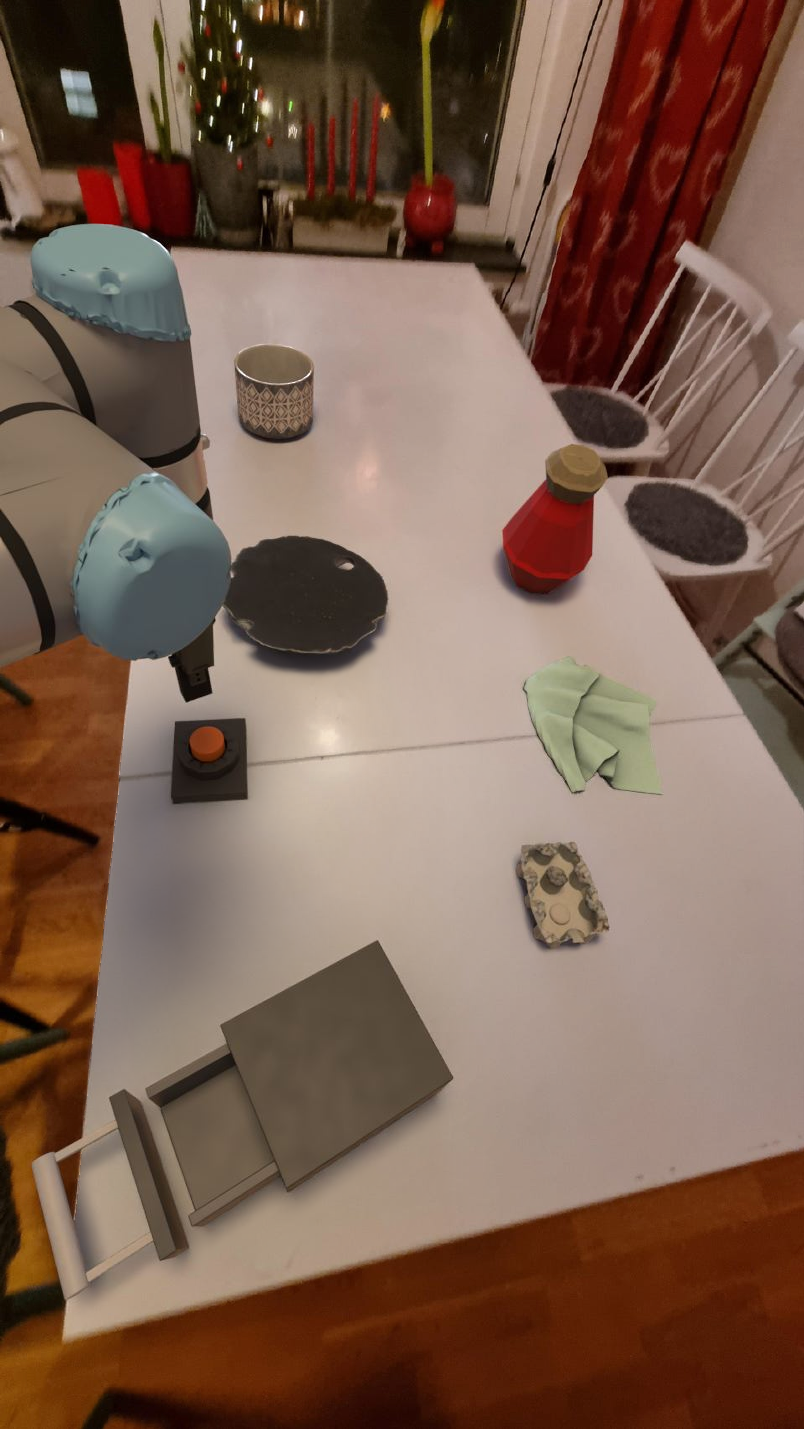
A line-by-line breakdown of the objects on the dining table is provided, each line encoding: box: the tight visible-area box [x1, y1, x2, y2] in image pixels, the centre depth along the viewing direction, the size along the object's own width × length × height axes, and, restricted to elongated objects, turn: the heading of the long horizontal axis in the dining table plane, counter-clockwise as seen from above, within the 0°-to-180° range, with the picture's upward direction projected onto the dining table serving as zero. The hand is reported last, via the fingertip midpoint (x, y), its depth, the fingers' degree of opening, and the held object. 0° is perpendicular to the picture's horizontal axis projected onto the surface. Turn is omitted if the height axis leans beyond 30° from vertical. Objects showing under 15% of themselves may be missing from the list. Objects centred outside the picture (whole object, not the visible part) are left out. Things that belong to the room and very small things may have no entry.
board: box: [222, 535, 389, 654], centre depth 93 cm, size 22×22×5 cm
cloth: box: [522, 655, 663, 796], centre depth 88 cm, size 20×22×2 cm
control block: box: [170, 717, 249, 805], centre depth 78 cm, size 10×8×4 cm
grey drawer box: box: [220, 939, 454, 1193], centre depth 59 cm, size 15×13×9 cm
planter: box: [233, 343, 315, 440], centre depth 117 cm, size 13×13×10 cm
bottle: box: [501, 443, 609, 596], centre depth 98 cm, size 16×14×20 cm
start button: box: [190, 727, 225, 762], centre depth 76 cm, size 4×4×2 cm
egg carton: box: [515, 841, 610, 949], centre depth 73 cm, size 11×8×4 cm
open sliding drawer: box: [31, 1043, 281, 1301], centre depth 54 cm, size 20×11×7 cm, turn 120°
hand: (196, 692), depth 68 cm, fingers closed
